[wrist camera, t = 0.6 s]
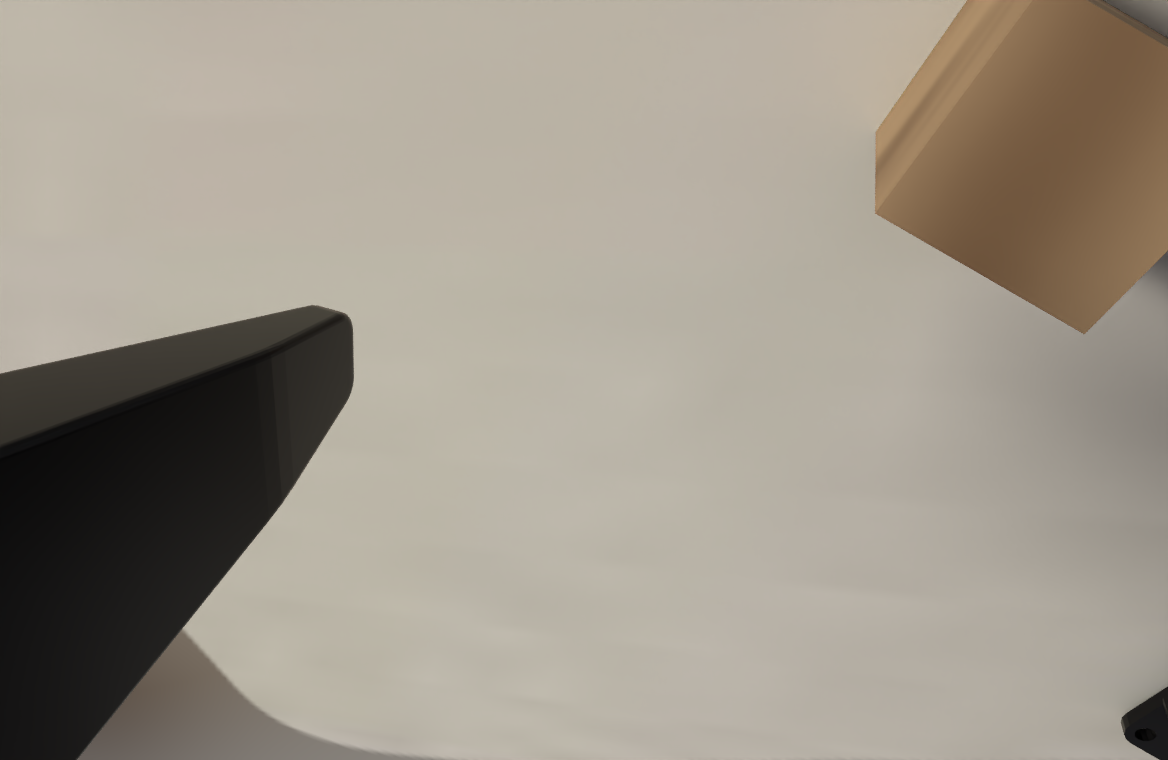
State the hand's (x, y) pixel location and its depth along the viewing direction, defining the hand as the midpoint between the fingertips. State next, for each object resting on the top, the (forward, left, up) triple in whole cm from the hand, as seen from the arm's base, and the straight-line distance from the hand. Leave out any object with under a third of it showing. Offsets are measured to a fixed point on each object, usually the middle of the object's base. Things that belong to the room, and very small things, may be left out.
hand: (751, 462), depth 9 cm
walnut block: (-3, -3, -12) cm, 13 cm away
